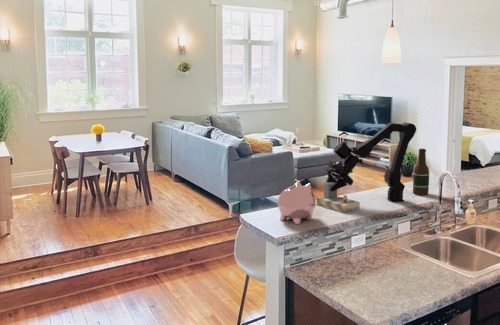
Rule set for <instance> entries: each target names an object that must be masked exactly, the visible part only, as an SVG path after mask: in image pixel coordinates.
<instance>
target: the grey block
mask: <svg viewBox="0 0 500 325" xmlns="http://www.w3.org/2000/svg"><path fill="white" fill-rule="evenodd" d="M335 183H336V182H335ZM335 183H334V182H328V183H326V182H324V184H323V187H324V188H323V192H324V193H323V196H324V197H326V198H328V199H331V198H337V196H338V189H337V190H335V191H331V188H332V187H333V185H334V184H335Z"/></svg>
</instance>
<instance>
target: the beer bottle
mask: <svg viewBox="0 0 500 325" xmlns="http://www.w3.org/2000/svg"><path fill="white" fill-rule="evenodd" d="M426 152H427V149H426V148H419V149H418V157H417V162H416V165H415V166H414V169H413V174H412V175H413V176H412V177H413V178H412V193H413V195H415V196H420V197H421V196H428V195H429V190H430V188H429V187H430V186H429V185H430V170H429V166H428V165H427V158H426V157H427V156H426V155H427V154H426Z"/></svg>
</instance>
